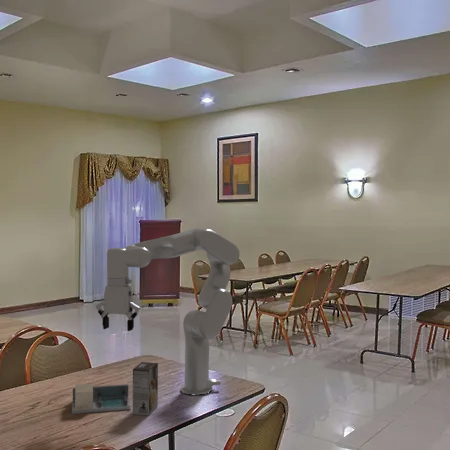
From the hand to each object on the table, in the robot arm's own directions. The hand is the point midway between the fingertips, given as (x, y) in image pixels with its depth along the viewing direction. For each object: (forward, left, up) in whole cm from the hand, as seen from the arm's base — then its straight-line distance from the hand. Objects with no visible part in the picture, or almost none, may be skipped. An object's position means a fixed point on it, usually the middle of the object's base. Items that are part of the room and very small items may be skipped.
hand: (118, 329), depth 195 cm
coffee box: (-9, +7, -28) cm, 30 cm away
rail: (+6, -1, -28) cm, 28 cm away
